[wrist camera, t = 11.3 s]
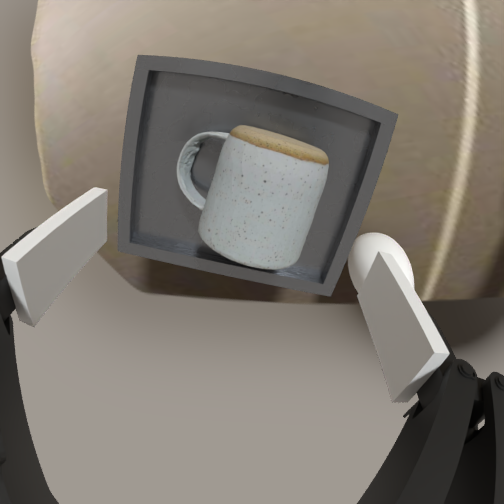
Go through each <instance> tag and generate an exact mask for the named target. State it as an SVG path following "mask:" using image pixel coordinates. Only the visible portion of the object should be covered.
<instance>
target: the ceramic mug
mask: <svg viewBox="0 0 504 504" xmlns="http://www.w3.org/2000/svg"><path fill="white" fill-rule="evenodd" d="M213 137H214V138H220V139H224V140H226V141H225V143H224V145H223V147H222V149H221V153H220V156H219V159H218V162H217V166H216V170H215V174H214V177H213V180H212V183H211V186H210V189H209V192H208V195H207V198H206V199H205V198H203V197H202V196H201V195H200V194H199V193H198V192H197V190H196V189H195V187H194V185H193V183H192V180H191V172H190V171H191V167H192V164H193V161H194V159H195V156H196V154H197V152H198V151H199V150H200V144H201V143H202V142H203V141H205V140H208V139H210V138H213ZM328 168H329V160H328V157H327V155H326V153H325V152H324V151H322V150H321V149H319V148H317V147H314V146H312V145H309V144H307V143H304V142H301V141H299V140H296V139H293V138H290V137H287V136H284V135H281V134H278V133H274V132H271V131H267V130H264V129H260V128H256V127H251V126H246V125H240V126H237V127H236V128H234V129H232V131H231V132H230V134H229V133H224V132H204V133H200V134H197V135H196V136H194V137H192V138H191V139H190V140H189V141H188V142H187V143H186V144H185V146H184V147H183V149H182V151H181V153H180V155H179V159H178V162H177V170H176V172H177V180H178V183H179V186H180V188H181V190H182V192H183V193H184V195H185V196H186V197H187V198H188V200H189V201H190V202H191V203H192V204H194V205H195V206H196V207H197V208H199V209H200V210H202V214H201V217H200V221H199V227H198V232H199V235H200V237H201V238H202V240H203V241H204V242H205V243H206V244H207V245H208V246H209V247H210V248H211V249H213V250H214V251H216V252H217V253H219V254H221V255H222V256H224V257H226V258H228V259H230V260H232V261H235V262H238V263H240V264H243V265H247V266H250V267H255V268H261V269H273V270H277V269H284V268H287V267H290V266H292V265H293V264H295V263H296V262H297V261H298V259H299V257H300V254H301V251H302V248H303V245H304V243H305V240H306V237H307V235H308V232H309V229H310V226H311V224H312V221H313V218H314V215H315V211H316V208H317V206H318V203H319V200H320V198H321V195H322V192H323V189H324V186H325V183H326V179H327V174H328Z"/></svg>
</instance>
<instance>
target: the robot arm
mask: <svg viewBox="0 0 504 504" xmlns="http://www.w3.org/2000/svg"><path fill="white" fill-rule="evenodd" d="M107 191H108V190H106V189H101V188H96V187H94V188H92V189H91V190H89V191H88V192H86V193H85V194H83V195H82V196H80V197H79V198H77V199H76V200H74V201H73V202H71V203H70V204H69V205H67V206H66V207H64V208H63V209H61V210H60V211H59V212H57V213H56V214H54V215H53V216H52V217H50V218H49V219H48V220H46V221H45V222H44V223H43V224H41V225H40V226H38V227H36V228H33V229H31V230H29V231H27V232H25V233H24V234H23V235H22V236H21V237H19V239H17V240H15V241H14V242H13V244H10V245H9V246H8V247H7V248H6V249H4V250H3V251H2V252H1V253H0V504H59V503H58V502H57V501H56V499H55V498H54V496H53V495H52V493H51V492H50V490H49V487H48V485H47V483H46V480H45V477H44V475H43V472H42V469H41V467H40V463H39V460H38V457H37V454H36V451H35V448H34V444H33V441H32V437H31V434H30V430H29V426H28V422H27V418H26V414H25V409H24V405H23V400H22V395H21V389H20V384H19V377H18V370H17V363H16V355H15V345H14V334H13V321H12V318H11V315H10V314H11V313H12V312H13V311H14V310H15V308H16V311H17V314H18V317H19V320H20V321H22V322H24V323H26V324H28V325H30V326H33V327H35V325H36V324H37V323H38V321H39V320H40V319H41V317H42V316H43V315H44V314H45V312H46V311H47V310H48V308H49V307H50V306H51V305H52V303H53V302H54V301H55V300H56V298H57V297H58V296H59V295H60V294H61V292H62V291H63V290H64V289H65V288H66V286H67V285H68V284H69V283H70V282H71V280H72V279H73V278H74V277H75V276H76V275H77V273H78V272H79V271H80V270H81V269H82V268H83V266H84V265H85V264H86V263H87V262H88V261H89V260H90V259H91V258H92V256H93V255H94V254H95V253H96V252H97V251H98V250H99V249H100V248H101V247H102V246H103V244H104V243H105V242H106V241H107ZM357 297H358V300H359V303H360V306H361V308H362V311H363V314H364V317H365V319H366V322H367V325H368V328H369V331H370V334H371V337H372V340H373V343H374V346H375V348H376V352H377V354H378V358H379V361H380V364H381V367H382V371H383V374H384V377H385V380H386V384H387V387H388V390H389V394H390V397H391V401H392V402H408V401H409V400H410V399H411V398H412V397H413V396H414V395H415V394H416V393H417V395H418V398H419V400H418V402H416V403H415V405H413V406H412V407H411V409H409V410H408V411H407V412H406V414H405V415H404V416H403V417H404V418H405V417H406V416H407V415H409V414H410V415H409V417H408V419H407V421H406V423H405V425H404V427H403V429H402V431H401V433H400V435H399V436H398V438H397V440H396V442H395V444H394V446H393V448H392V449H391V451H390V453H389V455H388V456H387V458H386V460H385V461H384V463H383V465H382V466H381V468H380V470H379V471H378V473H377V475H376V476H375V478H374V479H373V481H372V482H371V484H370V485H369V487H368V489H367V490H366V491H365V493H364V494H363V496H362V497H361V499H360V500H359V502H358V503H357V504H504V376H503V375H501V374H499V373H498V372H492V373H491V374H490V375H489V377H487V379H486V380H484V379H481V378H478V377H477V374H476V372H475V370H474V369H473V367H472V366H471V365H470V364H469V363H467V362H466V361H464V360H462V359H456V357H455V355H454V353H453V351H452V349H451V348H450V346H449V344H448V342H447V340H446V338H445V337H444V335H443V333H442V331H441V330H440V327H439V326H438V324H437V322H436V320H435V319H434V318H433V317H432V316H431V315H430V314H429V313H428V312H427V311H426V309H425V307H424V306H423V304H422V302H421V300H420V299H419V297H418V295H417V294H416V292H415V290H414V289H413V287H412V286H411V284H410V282H409V281H408V279H407V278H406V276H405V274H404V273H403V271H402V270H401V268H400V267H399V265H398V264H397V262H396V260H395V259H394V257H393V256H392V254H389V253H385V252H381V251H378V253H377V255H376V257H375V259H374V262H373V264H372V266H371V268H370V270H369V272H368V274H367V277H366V279H365V281H364V283H363V285H362V287H361V289H360V291H359V293H358V295H357ZM483 419H485V424H484V426H483V427H482V428H480V429H479V430H478V424H479V423H480V422H481V421H482V420H483Z"/></svg>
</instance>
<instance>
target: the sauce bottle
mask: <svg viewBox="0 0 504 504" xmlns="http://www.w3.org/2000/svg"><path fill="white" fill-rule="evenodd" d="M378 251H381V252H385V253H389V254H392V256H393V257H394V259H395V260H396V262H397V264H398V265H399V267H400V268H401V270H402V271H403V273H404V274H405V276H406V278H407V279H408V281H409V282H410V284H411V286H412V287H413V289H414V277H413V272H412V268H411V265H410V262H409V260H408V258H407V256H406V254H405V252H404V250H403V249H402V248H401V246H400V245H399V244H398V243H397V242H396V241H395V240H394V239H392V238H391V237H389V236H387V235H385V234H381V233H366V234H363V235H361V236H359V237H358V238H356V239H355V241H354V244H353V246H352V249H351V251H350V253H349V256H348V269H349V274H350V277H351V280H352V282H353V285H354V287H355V289H356V290H357V292H358V293H359V291H360V289H361V287H362V285H363V283H364V281H365V279H366V277H367V274H368V272H369V270H370V268H371V266H372V264H373V262H374V259H375V257H376V255H377V253H378Z"/></svg>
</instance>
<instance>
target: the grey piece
mask: <svg viewBox="0 0 504 504" xmlns="http://www.w3.org/2000/svg"><path fill="white" fill-rule="evenodd" d="M397 118H398V114H396V113H394V112H391V111H389V110H386V109H384V108H382V107H379V106H377V105H374V104H372V103H369V102H366V101H364V100H361V99H358V98H356V97H353V96H350V95H347V94H344V93H341V92H338V91H335V90H332V89H329V88H326V87H323V86H320V85H316V84H313V83H309V82H306V81H302V80H299V79H295V78H291V77H287V76H283V75H279V74H275V73H271V72H266V71H262V70H257V69H252V68H247V67H242V66H237V65H231V64H225V63H218V62H212V61H204V60H196V59H188V58H178V57H166V56H149V55H138V57H137V61H136V66H135V71H134V76H133V81H132V87H131V92H130V98H129V105H128V111H127V118H126V125H125V133H124V142H123V151H122V161H121V173H120V188H119V208H118V251H120V252H124V253H128V254H132V255H136V256H141V257H145V258H149V259H153V260H158V261H162V262H166V263H171V264H175V265H180V266H184V267H189V268H193V269H198V270H202V271H207V272H211V273H216V274H221V275H225V276H230V277H235V278H239V279H244V280H249V281H254V282H259V283H264V284H268V285H273V286H278V287H283V288H288V289H293V290H299V291H304V292H309V293H314V294H319V295H325V296H330V297H331V295H332V292H333V290H334V288H335V286H336V283H337V281H338V279H339V277H340V274H341V272H342V270H343V268H344V265H345V263H346V260H347V258H348V256H349V253H350V251H351V249H352V246H353V244H354V241H355V239H356V236H357V234H358V231H359V229H360V226H361V224H362V221H363V218H364V216H365V213H366V211H367V208H368V205H369V202H370V200H371V197H372V194H373V192H374V189H375V186H376V183H377V180H378V177H379V174H380V172H381V169H382V166H383V163H384V160H385V157H386V153H387V150H388V147H389V144H390V141H391V138H392V134H393V131H394V128H395V124H396V121H397ZM240 125H246V126H251V127H256V128H260V129H264V130H267V131H271V132H274V133H278V134H281V135H284V136H287V137H290V138H293V139H296V140H299V141H301V142H304V143H307V144H309V145H312V146H314V147H317V148H319V149H321V150H322V151H324V152H325V153H326V155H327V157H328V160H329V168H328V174H327V179H326V183H325V186H324V189H323V192H322V195H321V198H320V200H319V203H318V206H317V208H316V211H315V215H314V218H313V221H312V224H311V226H310V229H309V232H308V235H307V237H306V240H305V243H304V245H303V248H302V251H301V254H300V257H299V259H298V261H297V262H296V263H295V264H293V265H292V266H290V267H287V268H284V269H277V270H273V269H261V268H255V267H250V266H247V265H243V264H240V263H238V262H235V261H232V260H230V259H228V258H226V257H224V256H222V255H221V254H219V253H217V252H216V251H214V250H213V249H211V248H210V247H209V246H208V245H207V244H206V243H205V242H204V241H203V240H202V238H201V237H200V235H199V232H198V227H199V221H200V217H201V214H202V210H200V209H199V208H197V207H196V206H195V205H194V204H192V203H191V202H190V201H189V200H188V198H187V197H186V196H185V195H184V193H183V192H182V190H181V188H180V186H179V183H178V180H177V172H176V170H177V162H178V159H179V155H180V153H181V151H182V149H183V147H184V146H185V144H186V143H187V142H188V141H189V140H190V139H191V138H192V137H194V136H196V135H197V134H200V133H204V132H224V133H229V134H230V132H231V131H232V129H234V128H236V127H237V126H240ZM225 141H226V140H224V139H220V138H214V137H213V138H210V139H208V140H205V141H203V142H202V143H201V144H200V150H199V151H198V152H197V154H196V156H195V159H194V161H193V164H192V167H191V171H190V172H191V180H192V183H193V185H194V187H195V189H196V190H197V192H198V193H199V194H200V195H201V196H202V197H203V198H205V199H206V198H207V195H208V192H209V189H210V186H211V183H212V180H213V177H214V174H215V170H216V166H217V162H218V159H219V156H220V153H221V149H222V147H223V145H224V143H225Z"/></svg>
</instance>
